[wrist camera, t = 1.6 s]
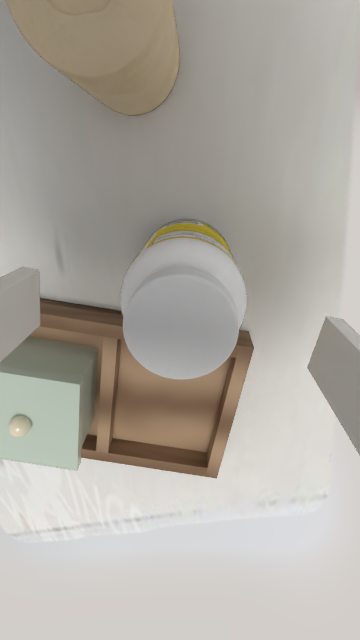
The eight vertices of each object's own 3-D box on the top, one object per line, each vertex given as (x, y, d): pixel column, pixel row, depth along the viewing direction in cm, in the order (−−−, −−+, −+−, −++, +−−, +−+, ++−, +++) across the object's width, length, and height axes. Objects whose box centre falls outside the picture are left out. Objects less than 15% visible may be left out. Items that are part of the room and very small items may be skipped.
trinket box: (4, 329, 25) (-54, 375, 19) (102, 344, 25) (73, 395, 19) (10, 407, 28) (-39, 467, 22) (97, 420, 28) (71, 483, 22)
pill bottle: (181, 319, 25) (169, 418, 15) (125, 256, 23) (69, 321, 13) (249, 269, 23) (289, 344, 13) (194, 197, 21) (192, 218, 11)
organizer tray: (-12, 289, 25) (-34, 301, 22) (248, 332, 25) (253, 347, 23) (1, 422, 30) (-16, 442, 28) (215, 455, 30) (216, 478, 28)
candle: (86, 114, 20) (-12, 62, 10) (79, -8, 17) (-54, -210, 8) (177, 118, 19) (160, 69, 10) (182, -4, 17) (165, -205, 8)
